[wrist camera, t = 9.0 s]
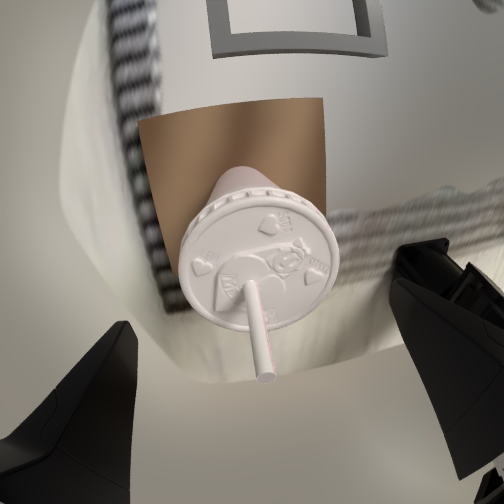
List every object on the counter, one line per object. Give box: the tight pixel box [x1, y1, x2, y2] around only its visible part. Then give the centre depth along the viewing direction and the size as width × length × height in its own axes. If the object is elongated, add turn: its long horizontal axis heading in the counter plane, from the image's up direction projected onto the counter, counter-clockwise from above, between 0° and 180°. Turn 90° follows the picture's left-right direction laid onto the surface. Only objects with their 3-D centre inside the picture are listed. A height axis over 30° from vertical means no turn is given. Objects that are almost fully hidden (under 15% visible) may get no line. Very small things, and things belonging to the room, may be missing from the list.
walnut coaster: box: [137, 98, 326, 277], centre depth 20 cm, size 12×12×1 cm
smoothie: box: [178, 166, 339, 383], centre depth 13 cm, size 6×6×14 cm
